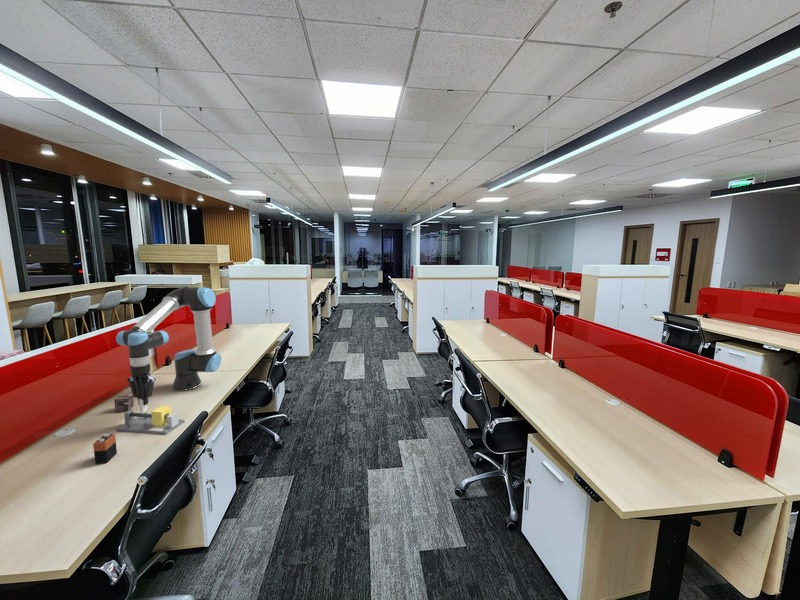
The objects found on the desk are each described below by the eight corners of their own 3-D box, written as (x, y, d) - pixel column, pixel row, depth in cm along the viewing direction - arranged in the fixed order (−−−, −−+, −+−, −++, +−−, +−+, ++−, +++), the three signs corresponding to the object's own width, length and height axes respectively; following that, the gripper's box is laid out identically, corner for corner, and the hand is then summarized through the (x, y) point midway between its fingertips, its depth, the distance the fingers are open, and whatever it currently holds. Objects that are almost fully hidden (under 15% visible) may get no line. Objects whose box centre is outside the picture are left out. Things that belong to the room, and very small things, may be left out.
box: (114, 412, 174) (113, 399, 173) (121, 407, 180) (119, 395, 179) (128, 411, 175) (127, 398, 174) (134, 406, 181) (133, 394, 180)
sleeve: (162, 418, 164) (161, 406, 163) (171, 419, 163) (170, 406, 163) (152, 425, 158) (151, 411, 157) (162, 425, 158) (161, 412, 157)
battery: (117, 453, 139) (115, 431, 138) (107, 463, 133) (105, 440, 131) (105, 454, 138) (103, 432, 137) (94, 464, 132) (92, 441, 130)
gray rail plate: (138, 418, 168) (137, 406, 167) (184, 421, 166) (183, 409, 166) (116, 430, 156) (115, 417, 156) (165, 434, 155) (165, 421, 154)
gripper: (120, 366, 154) (124, 413, 158) (146, 367, 154) (150, 415, 157) (134, 361, 162) (138, 406, 165) (159, 362, 161) (162, 408, 164)
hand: (143, 410), depth 161 cm, fingers closed
